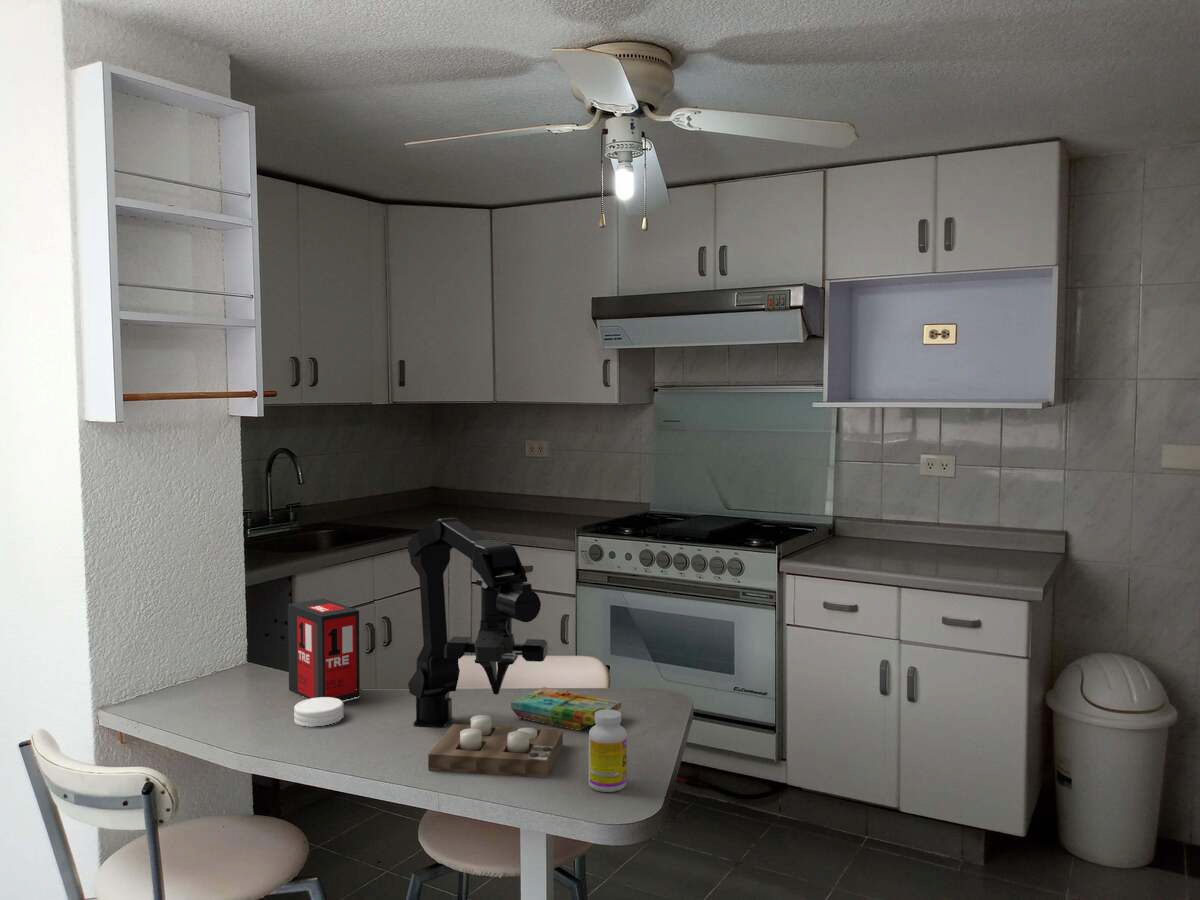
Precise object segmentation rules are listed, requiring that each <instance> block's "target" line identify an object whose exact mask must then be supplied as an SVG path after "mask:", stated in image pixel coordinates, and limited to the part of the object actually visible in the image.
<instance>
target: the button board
mask: <svg viewBox="0 0 1200 900" xmlns="http://www.w3.org/2000/svg"><path fill="white" fill-rule="evenodd" d="M470 728H471V724H458V723H453V724H452V725H451V726H450V727H449V728H448V730H447V731H446V732H445V733H444V735H443V736H442V737H441V738H440V739H439V740H438V741H437V743H436V744H435V745H434V746H433V747H432V749H431V750H430V751H429V752H428V755H427V760H428V762H427V763H428V764H427V765H428V766H427V769H428V771H435V772H436V771H437V772H450V773H451V772H452V773H465V774H466V773H470V774H485V775H500V776H517V777H534V778H535V777H537V778H549V776H550V774H551V772H552V769H553V767H554V765H555V763H556V760H557V759H558V756H559V754H560V752H561V750H562V748H563V745H564V744H563V743H564V729H557V728H556V729H555V728H541V727H540V728H537V727H533V728H534V729H536V730H537V739H530V738H529V750H528V751H527V752H524V753H512V752H509V751H508V750H507V739H508V733H510V732H513V731H517V730H518V729H520V728H522V727H517V726H516V727H515V726H501V725H500V726H499V725H498V726H496V725H492V732H491V734H489V735H486V736H482V747H481V748H480V749H477V750H463V749H461V748H460V732H461V731H462V730H464V729H470Z"/></svg>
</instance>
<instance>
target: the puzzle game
mask: <svg viewBox="0 0 1200 900" xmlns="http://www.w3.org/2000/svg"><path fill="white" fill-rule="evenodd" d="M510 708H511V711H513V713H514V714H515V715H516V717H518V718H519V717H521V718H526V719H530V720H529V721H531V720H535V721H534V722H536V721H539V722H538V723H541V722H544V723H543V724H545V723H548V724H547V725H550V724H553V725H552V726H555V725H557V726H556V727H560V726H562V727H561V728H565V727H568V728H567V729H570V728H573V729H572V730H574V729H578V730H577V731H579V730H580V731H582V730H583V729H585V728H586V726H587V725H588V726H594V724H595V725H596V723H595V720H594V718H595V712H596V711H599V710H604V709H610V710H616V711H618V710H620V709H622V702H621V701H615V700H611V699H605V698H602V697H601V698H600V697H595V696H591V695H587V694H586V695H585V694H580V693H575V692H571V691H569V690H566V689H564V690H560V689H557V688H556V689H555V688H550V687H545V686H544V687H540V688H538V689H537V690H535V691H533V692H531V693H528V694H526V695H524V696H523V697H520V698H518V699H516V700H514V701H512V702H511V703H510ZM521 718H520V719H521ZM526 719H525V720H526ZM588 726H587V727H588ZM584 727H585V728H584ZM582 728H583V729H582ZM581 729H582V730H581Z"/></svg>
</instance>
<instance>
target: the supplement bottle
mask: <svg viewBox="0 0 1200 900" xmlns="http://www.w3.org/2000/svg"><path fill="white" fill-rule="evenodd" d="M594 720H595V725H592V727H590V729H589V730H588V731H589V732H588V784H589V787H590V788H592V790H595V791H597V792H602V793H615V792H619V791H621V790H623V789H624V788H625V787H626V785H627V767H628V766H627V758H628V756H627V755H628V754H627V752H628V751H627V750H628V749H627V743H628V741H627V739H628V737H627V735H628V734H627V729H625V728H624V727H623V725H621V722H622V713H621V712H620V711H618V710H610V709H604V710H599V711H596V712H595V718H594Z"/></svg>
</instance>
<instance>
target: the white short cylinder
mask: <svg viewBox="0 0 1200 900" xmlns="http://www.w3.org/2000/svg"><path fill="white" fill-rule="evenodd" d="M344 706H345V705H344V702H342V701H341V700H339V699H337V698H331V697H319V698H311V699H304V700H301V701H298V702H297V703H296V704H295V706H294V708H293V711H294V713H293V715H294V719H293V720H294V723H295V724H296V725H297V726H299V725H300V727H303V726H306V727H305V728H316V727H315V726H323V727H325V726H324V725H329V724H332V725H334V724H333V723H335V724H337V723H336V722H338V721H340V720H341V719H342V718H343V719H344V717H345V714H344V710H345V709H344ZM343 719H342V720H343ZM342 720H341V721H342ZM341 721H340V722H341ZM338 723H339V722H338ZM308 726H309V727H308ZM313 726H314V727H313ZM329 726H330V725H329Z"/></svg>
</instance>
